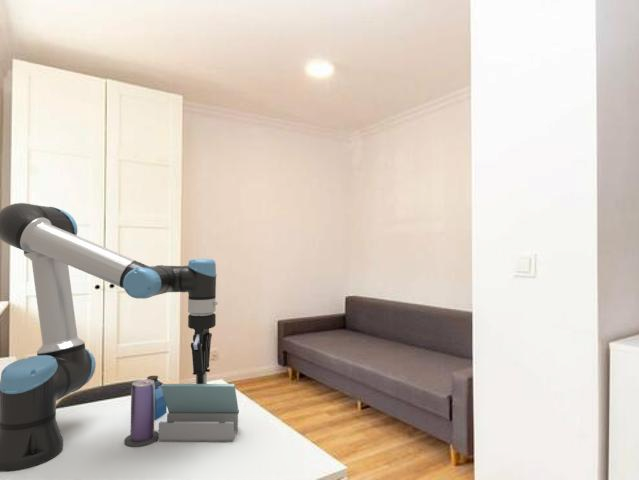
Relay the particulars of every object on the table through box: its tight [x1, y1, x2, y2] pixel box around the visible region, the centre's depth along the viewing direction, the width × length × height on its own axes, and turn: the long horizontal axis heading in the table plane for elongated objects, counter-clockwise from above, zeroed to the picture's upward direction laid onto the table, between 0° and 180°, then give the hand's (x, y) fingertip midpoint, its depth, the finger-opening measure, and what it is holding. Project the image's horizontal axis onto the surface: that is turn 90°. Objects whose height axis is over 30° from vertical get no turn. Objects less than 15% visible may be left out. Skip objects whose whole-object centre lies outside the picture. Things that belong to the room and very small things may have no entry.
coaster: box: [123, 430, 159, 448], centre depth 111 cm, size 9×9×1 cm
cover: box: [160, 383, 240, 415], centre depth 115 cm, size 20×12×1 cm
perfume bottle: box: [146, 375, 168, 421], centre depth 127 cm, size 6×6×12 cm
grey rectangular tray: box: [158, 412, 239, 443], centre depth 113 cm, size 20×7×5 cm, turn 90°
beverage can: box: [129, 378, 155, 442], centre depth 111 cm, size 6×6×15 cm
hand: (201, 396), depth 115 cm, fingers closed
